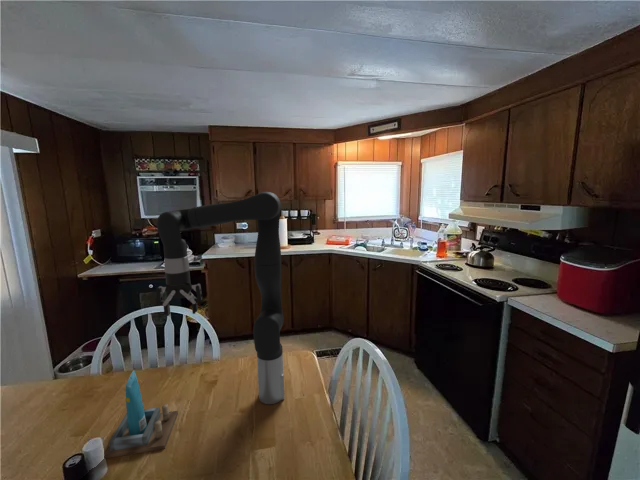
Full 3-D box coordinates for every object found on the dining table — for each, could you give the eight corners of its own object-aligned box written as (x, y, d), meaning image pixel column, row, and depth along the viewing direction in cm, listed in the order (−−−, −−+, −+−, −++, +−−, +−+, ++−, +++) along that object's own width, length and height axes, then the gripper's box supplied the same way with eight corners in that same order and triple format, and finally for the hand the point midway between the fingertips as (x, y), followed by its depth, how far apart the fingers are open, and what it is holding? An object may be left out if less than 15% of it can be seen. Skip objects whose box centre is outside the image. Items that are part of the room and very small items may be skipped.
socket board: (177, 413, 101) (176, 397, 99) (164, 448, 87) (162, 430, 86) (126, 421, 98) (124, 404, 96) (104, 458, 84) (101, 439, 83)
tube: (131, 425, 94) (124, 371, 91) (148, 420, 96) (142, 367, 93) (126, 443, 88) (118, 386, 84) (145, 438, 89) (137, 382, 86)
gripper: (201, 265, 105) (204, 308, 107) (158, 267, 102) (163, 311, 105) (197, 271, 97) (200, 316, 100) (150, 273, 95) (155, 320, 97)
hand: (181, 314), depth 102 cm, fingers open, 8 cm apart
